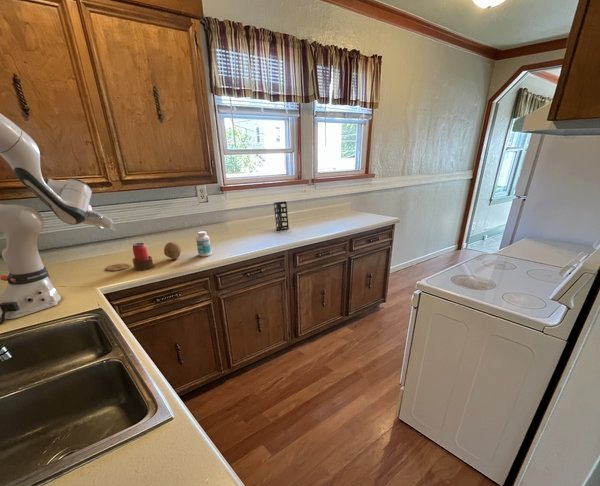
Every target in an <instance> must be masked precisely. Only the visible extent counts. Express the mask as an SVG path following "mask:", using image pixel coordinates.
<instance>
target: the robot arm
mask: <svg viewBox="0 0 600 486" xmlns="http://www.w3.org/2000/svg"><path fill="white" fill-rule="evenodd" d="M40 152H41V151H40V149H39V146H38V145H37V143H36V142H35V140H34V139H33V138H32V137H31V136H30V135H29V134H28V133H27V132H25V131H24V130H23V129H22V128H21V127H20V126H18V125H17V124H15V122H13V121H12V120H11V119H10V118H7V117H6V115H4V114H2V113H1V112H0V156H1V158H3V160H5V162H6V163H7V164H8V165H9V167H10V168H11V169H12V172H13V173H14V176H15V177H16V179H17V180H18V181H19V182H20V183H21V184H22V185H23V186H24V187H25V188H27V190H29V191H30V192H31V193H32V194H33V195H34V196H36V197H37V198H38V200H40V201H41V202H42V203H43V204H44V205H46V206H47V207H48V208H49V209H50V210H51V211H52V213H53V214H54V215H55V216H56V218H58V219H59V220H60V221H62V222H63V223H65V224H68V225H70V226H71V225H73V226H75V225H79V224H81V223H83V224H85V225H90V226H94V227H96V228H98V229H100V230H104V228H106V229H109V230H110V232H116V230H117V227H115V226H114V225H113V224H114V221H113V220H112V219H111V218H109V217H107V216H106V215H104V214H103V213H101V212H99V211H94V210H93V209H92V205H91V204H90V201H91V198H92V194H93V191H92V188H91V187H90V186H89V184H87V183H86V182H85V181H83V180H81V179H80V178H75V177H74V178H68V179H66V180H55V179H52V178H46V179H44V177H43V174H42V168H41V153H40ZM44 224H45V223H44V219H43V217H42V215H41V213H40V212H39V211H38V210H37V209H35V208H33V207H30V206H25V205H21V204H2V203H0V236H4V237H5V240H6V247H5V248H4V249H3V250H2V251H1V256H2V259H3V261H4V263H5V266H6V268H7V270H8V274H7V275H4V274H2V275H0V280H1V281H5V282H6V281H7V285H6V286H5V287H4V288H3V290H2V291H1V292H0V319H1V320H0V325H3V324H4V322H5V321H6V320H12V319H14V320H15V319H19V318H21V317H25V316H28V315H30V314H34V313H36V312H40V311H44V310H46V309H49V308H53V307H55V306H57V305H58V303H59V302H60V301H61V300H62V296H61V295H60V294H59V293H58V290H56V288H55V286H54V285H53V283H52V281H51V280H50V274H49V272H48V270H47V267H46V266H45V265H44V263H43V261H42V257H41V255H40V251H39V248H38V238H39V234H40V233H41V232H42V230H43V228H44Z"/></svg>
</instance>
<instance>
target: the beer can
mask: <svg viewBox="0 0 600 486" xmlns="http://www.w3.org/2000/svg"><path fill="white" fill-rule="evenodd" d="M132 252H133V256H134V258H135V260H136V261H143V260H148V259H149V257H148V256H149V252H148V249H147V246H146V245H145V243H144V242H135V243H133V244H132Z"/></svg>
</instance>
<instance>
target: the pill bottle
mask: <svg viewBox="0 0 600 486" xmlns="http://www.w3.org/2000/svg"><path fill="white" fill-rule="evenodd" d="M195 241H196V246H197V252H198V253H197V254H198V256H199V257H209V256H211V255H212V249H211V241H210V236H208V235H207V231H203V230H201V231H198V232H197V236H196V238H195Z"/></svg>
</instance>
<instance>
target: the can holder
mask: <svg viewBox="0 0 600 486" xmlns="http://www.w3.org/2000/svg"><path fill="white" fill-rule="evenodd" d="M148 257H149V259H148V260H143V261H136V260H135V257H133V258H132V259H131V261H132V264H133V268H134V270H136V271H147V270H150V269H153V268H154V266H155V265H154V261H153V257H152V255H151V256H150V255H148Z"/></svg>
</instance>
